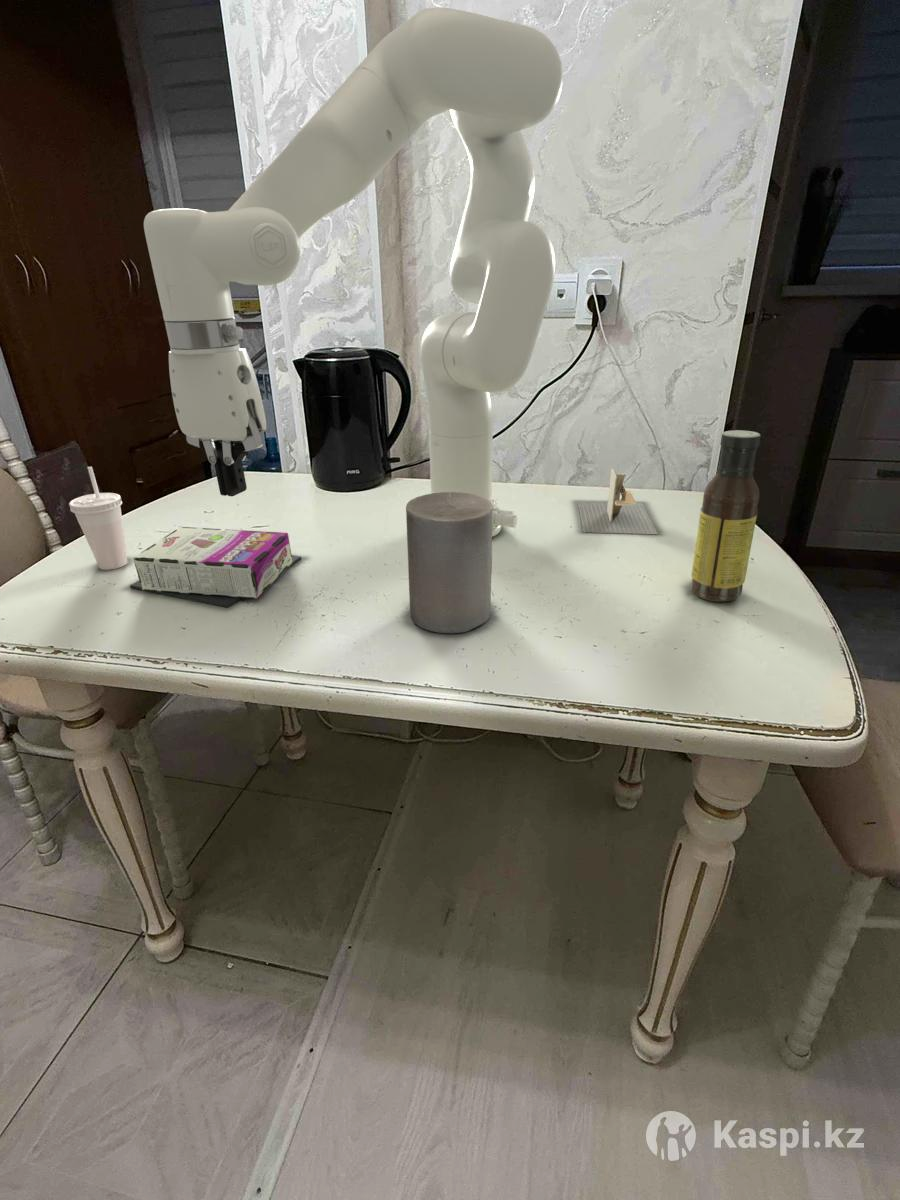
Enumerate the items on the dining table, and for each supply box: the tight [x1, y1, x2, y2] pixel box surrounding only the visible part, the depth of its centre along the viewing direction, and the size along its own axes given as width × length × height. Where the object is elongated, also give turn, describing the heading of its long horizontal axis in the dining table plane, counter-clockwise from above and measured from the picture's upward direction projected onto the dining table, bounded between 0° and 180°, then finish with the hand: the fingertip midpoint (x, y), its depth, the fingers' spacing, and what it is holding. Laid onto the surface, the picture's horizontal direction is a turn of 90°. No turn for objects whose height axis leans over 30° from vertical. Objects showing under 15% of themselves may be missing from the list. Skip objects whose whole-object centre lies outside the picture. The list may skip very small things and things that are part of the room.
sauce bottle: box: [690, 429, 761, 602], centre depth 74 cm, size 6×6×20 cm
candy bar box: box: [132, 526, 293, 600], centre depth 83 cm, size 11×5×16 cm
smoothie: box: [68, 466, 128, 571], centre depth 86 cm, size 6×6×14 cm
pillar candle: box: [405, 492, 494, 634], centre depth 71 cm, size 10×10×15 cm
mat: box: [129, 554, 302, 608], centre depth 86 cm, size 16×16×1 cm
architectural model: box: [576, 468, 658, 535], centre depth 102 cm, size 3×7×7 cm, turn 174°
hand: (234, 492), depth 79 cm, fingers closed
